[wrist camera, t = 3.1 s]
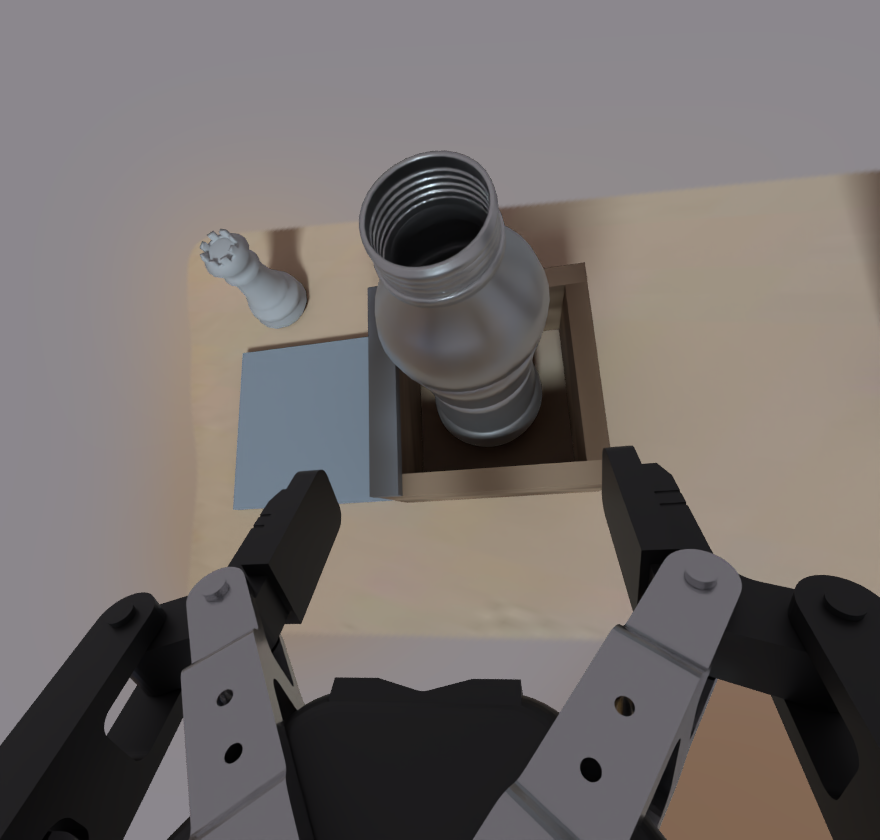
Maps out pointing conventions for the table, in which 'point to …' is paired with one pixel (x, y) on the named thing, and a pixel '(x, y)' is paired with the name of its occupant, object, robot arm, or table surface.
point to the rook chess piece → (254, 279)
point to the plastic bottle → (457, 294)
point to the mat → (304, 421)
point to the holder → (405, 480)
